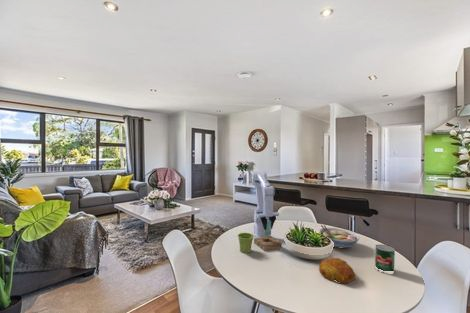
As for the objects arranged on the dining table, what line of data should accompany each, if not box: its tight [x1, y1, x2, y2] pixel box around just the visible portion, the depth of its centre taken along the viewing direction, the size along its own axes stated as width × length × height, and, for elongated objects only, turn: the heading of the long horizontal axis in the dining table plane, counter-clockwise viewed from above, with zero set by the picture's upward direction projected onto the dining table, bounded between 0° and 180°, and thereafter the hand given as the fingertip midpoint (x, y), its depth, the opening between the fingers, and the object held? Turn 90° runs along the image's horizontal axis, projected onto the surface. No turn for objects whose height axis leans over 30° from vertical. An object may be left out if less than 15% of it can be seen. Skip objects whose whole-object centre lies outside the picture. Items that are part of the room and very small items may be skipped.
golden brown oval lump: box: [318, 257, 356, 284], centre depth 105 cm, size 14×16×8 cm
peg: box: [265, 220, 272, 236], centre depth 137 cm, size 4×4×8 cm
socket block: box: [253, 235, 282, 252], centre depth 137 cm, size 12×12×3 cm
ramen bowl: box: [318, 224, 361, 248], centre depth 139 cm, size 25×23×8 cm
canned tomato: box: [374, 244, 396, 272], centre depth 110 cm, size 8×8×11 cm
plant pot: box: [237, 232, 255, 254], centre depth 130 cm, size 9×9×9 cm
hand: (267, 228), depth 137 cm, fingers closed on peg, 4 cm apart
